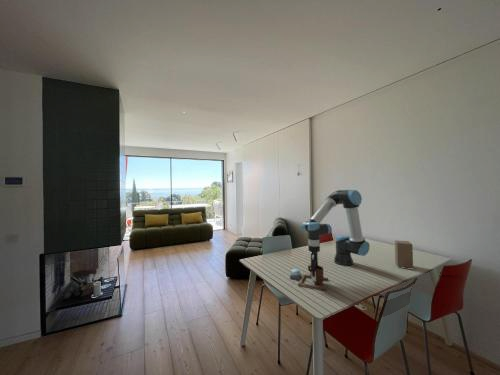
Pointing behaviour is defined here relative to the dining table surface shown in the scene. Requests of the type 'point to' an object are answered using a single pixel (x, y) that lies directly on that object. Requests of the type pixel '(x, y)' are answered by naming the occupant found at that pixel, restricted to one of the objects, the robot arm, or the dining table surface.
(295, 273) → the dome
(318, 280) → the mug
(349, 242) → the robot arm
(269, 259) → the dining table surface
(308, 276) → the bay
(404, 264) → the wooden block
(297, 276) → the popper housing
